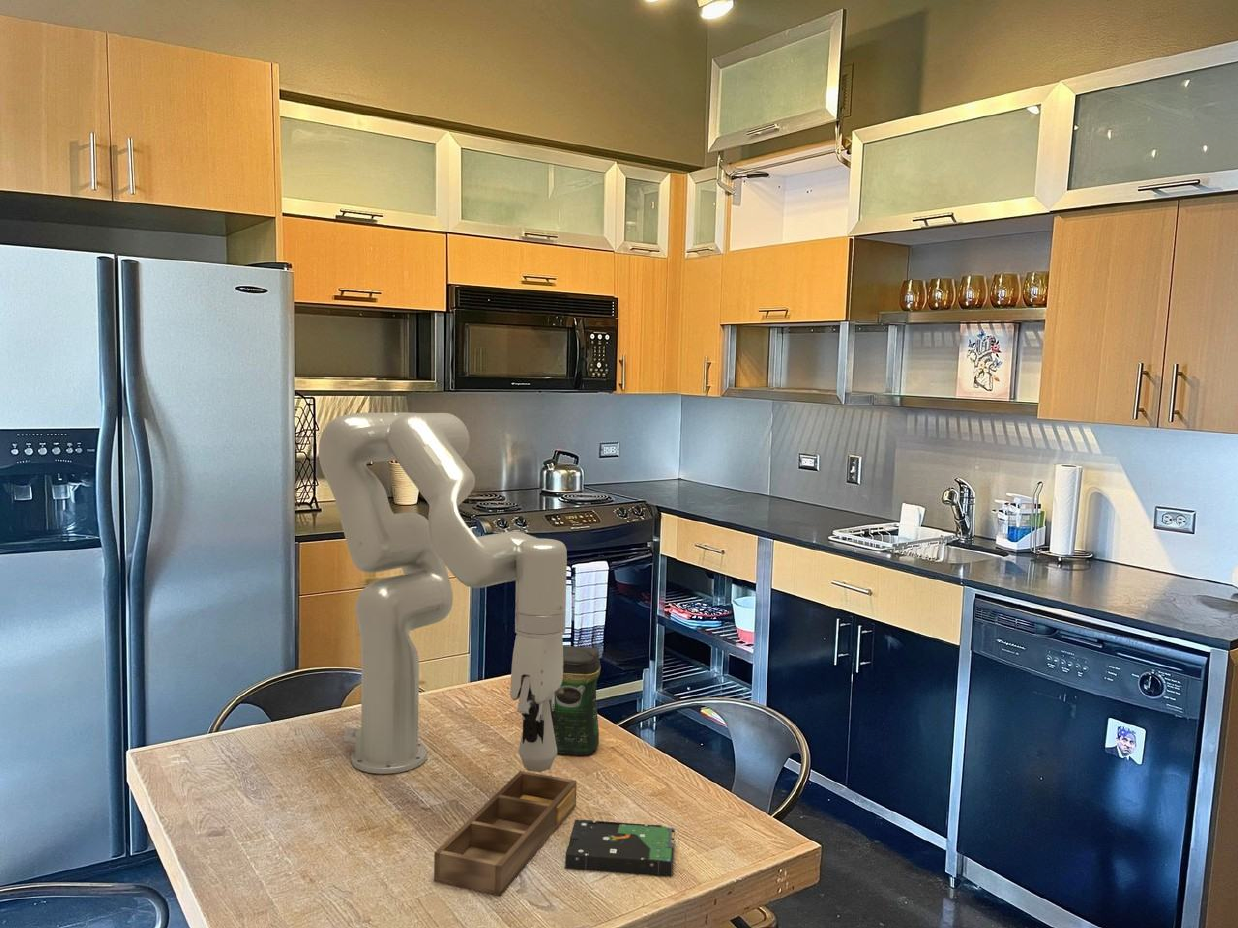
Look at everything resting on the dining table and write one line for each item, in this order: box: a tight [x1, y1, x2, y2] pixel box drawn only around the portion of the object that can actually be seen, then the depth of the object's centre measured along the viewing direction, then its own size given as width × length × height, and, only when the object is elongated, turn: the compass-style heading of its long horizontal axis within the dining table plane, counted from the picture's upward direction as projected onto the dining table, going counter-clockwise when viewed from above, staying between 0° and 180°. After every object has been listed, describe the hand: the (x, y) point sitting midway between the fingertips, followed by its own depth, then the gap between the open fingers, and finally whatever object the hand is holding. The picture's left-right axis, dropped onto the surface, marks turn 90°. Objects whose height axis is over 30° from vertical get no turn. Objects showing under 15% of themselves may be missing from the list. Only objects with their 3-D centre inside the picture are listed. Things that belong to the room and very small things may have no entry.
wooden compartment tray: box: [433, 770, 578, 897], centre depth 133 cm, size 10×27×4 cm, turn 162°
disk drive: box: [564, 819, 676, 878], centre depth 130 cm, size 10×3×15 cm
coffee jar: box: [551, 645, 601, 756], centre depth 166 cm, size 10×8×19 cm
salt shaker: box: [518, 690, 558, 773], centre depth 140 cm, size 6×6×13 cm
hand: (538, 739), depth 140 cm, fingers closed on salt shaker, 3 cm apart
